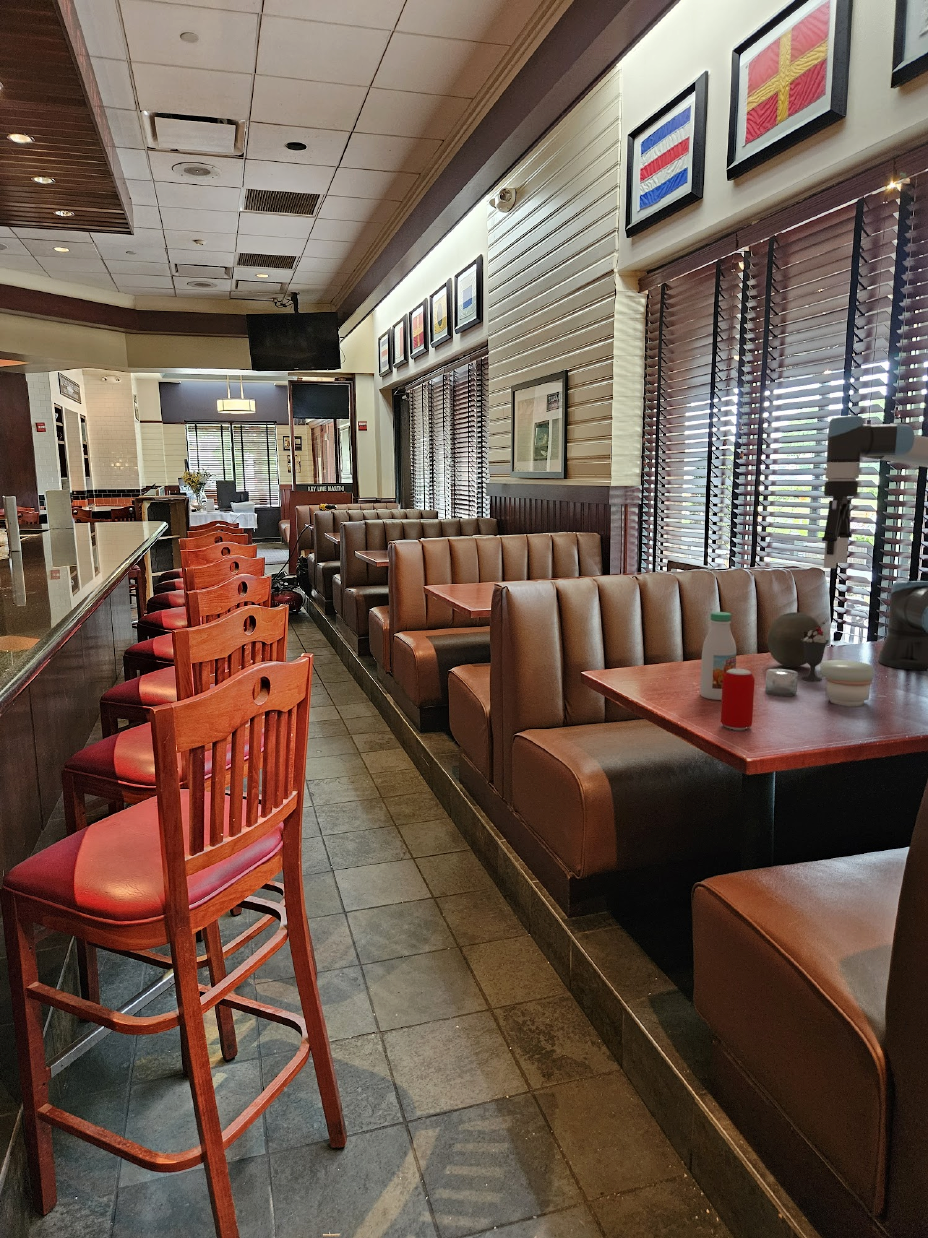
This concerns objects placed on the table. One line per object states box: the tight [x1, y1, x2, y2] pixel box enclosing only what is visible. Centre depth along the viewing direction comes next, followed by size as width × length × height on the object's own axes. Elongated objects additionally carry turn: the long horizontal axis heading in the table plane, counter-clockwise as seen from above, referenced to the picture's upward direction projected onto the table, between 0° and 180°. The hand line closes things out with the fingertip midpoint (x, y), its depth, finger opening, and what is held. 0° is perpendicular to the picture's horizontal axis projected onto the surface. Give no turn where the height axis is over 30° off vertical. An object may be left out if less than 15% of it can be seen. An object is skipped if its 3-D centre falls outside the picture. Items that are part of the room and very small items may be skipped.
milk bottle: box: [699, 611, 737, 701], centre depth 188 cm, size 8×8×20 cm
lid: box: [819, 659, 875, 682], centre depth 184 cm, size 11×11×2 cm
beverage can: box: [720, 668, 756, 731], centre depth 165 cm, size 6×6×12 cm
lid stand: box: [764, 668, 799, 697], centre depth 192 cm, size 7×7×5 cm
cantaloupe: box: [766, 612, 821, 668], centre depth 216 cm, size 14×14×15 cm
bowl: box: [824, 677, 873, 707], centre depth 184 cm, size 10×10×6 cm
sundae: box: [800, 622, 830, 682], centre depth 204 cm, size 7×7×15 cm
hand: (835, 565), depth 203 cm, fingers open, 13 cm apart
